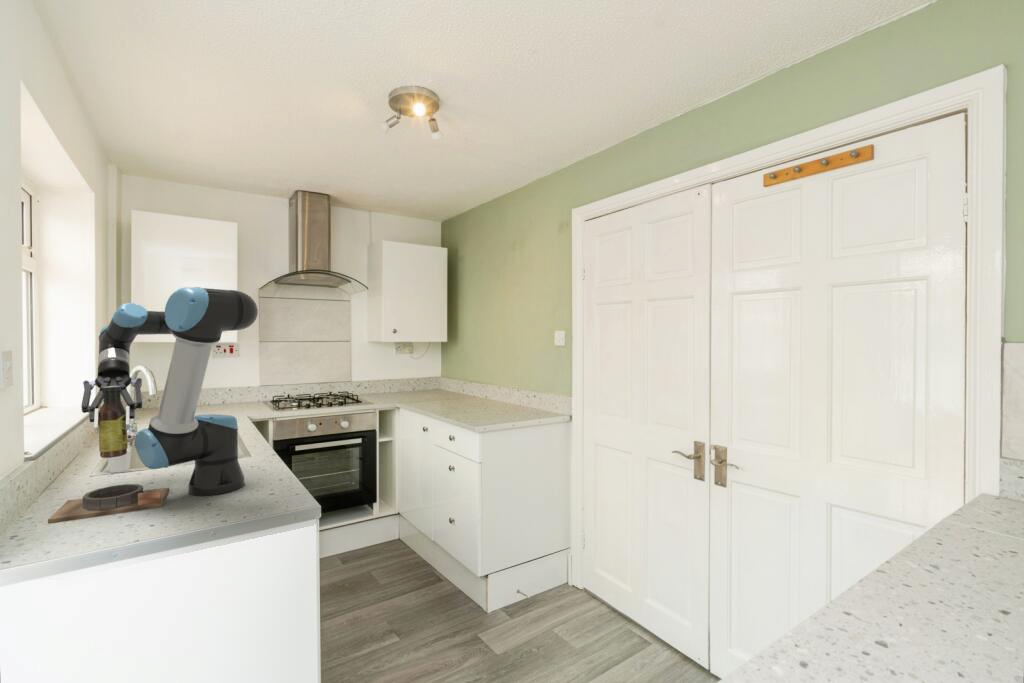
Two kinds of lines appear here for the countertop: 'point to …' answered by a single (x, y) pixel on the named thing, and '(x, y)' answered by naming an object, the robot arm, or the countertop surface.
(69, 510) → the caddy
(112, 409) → the sauce bottle
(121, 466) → the white cube
